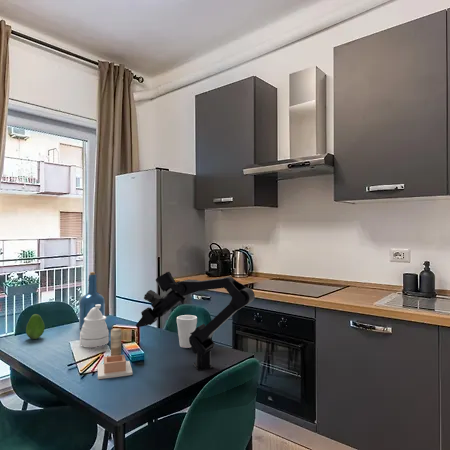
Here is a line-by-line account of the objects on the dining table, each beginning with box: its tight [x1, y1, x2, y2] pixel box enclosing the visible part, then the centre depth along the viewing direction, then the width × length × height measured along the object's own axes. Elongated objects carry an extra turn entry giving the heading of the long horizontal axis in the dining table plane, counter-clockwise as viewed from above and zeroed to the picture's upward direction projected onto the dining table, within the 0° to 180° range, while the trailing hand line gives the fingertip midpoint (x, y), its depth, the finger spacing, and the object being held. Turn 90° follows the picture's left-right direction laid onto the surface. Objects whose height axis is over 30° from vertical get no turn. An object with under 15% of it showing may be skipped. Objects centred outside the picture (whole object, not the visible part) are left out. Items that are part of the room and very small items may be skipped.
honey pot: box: [79, 304, 110, 348], centre depth 170 cm, size 13×13×18 cm
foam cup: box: [176, 314, 198, 349], centre depth 167 cm, size 10×9×13 cm
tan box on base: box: [97, 354, 133, 380], centre depth 137 cm, size 12×12×4 cm
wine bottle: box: [78, 271, 106, 329], centre depth 197 cm, size 14×13×30 cm
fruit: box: [25, 313, 46, 340], centre depth 176 cm, size 8×8×12 cm
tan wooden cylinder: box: [110, 328, 122, 356], centre depth 146 cm, size 4×4×13 cm
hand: (141, 323), depth 150 cm, fingers open, 9 cm apart
